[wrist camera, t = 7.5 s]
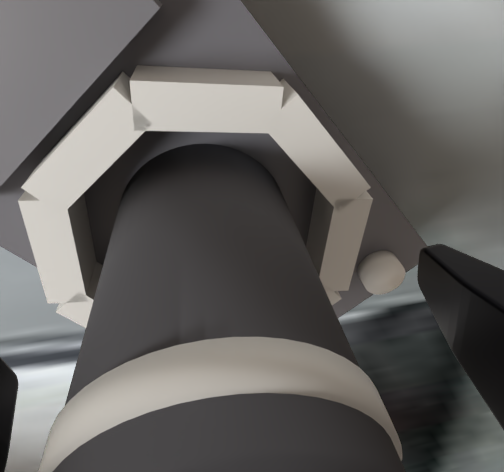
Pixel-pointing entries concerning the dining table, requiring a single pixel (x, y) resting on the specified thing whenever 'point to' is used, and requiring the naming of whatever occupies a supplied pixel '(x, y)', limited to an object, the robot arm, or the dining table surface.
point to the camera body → (171, 138)
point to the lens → (215, 338)
